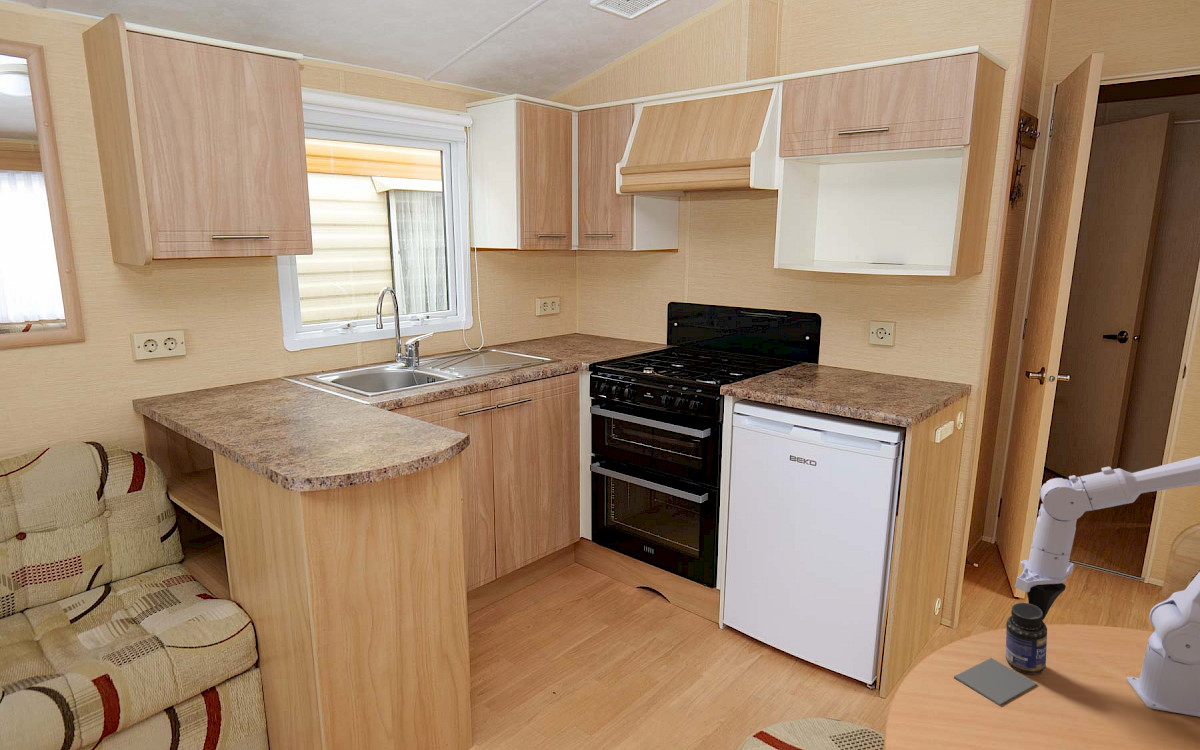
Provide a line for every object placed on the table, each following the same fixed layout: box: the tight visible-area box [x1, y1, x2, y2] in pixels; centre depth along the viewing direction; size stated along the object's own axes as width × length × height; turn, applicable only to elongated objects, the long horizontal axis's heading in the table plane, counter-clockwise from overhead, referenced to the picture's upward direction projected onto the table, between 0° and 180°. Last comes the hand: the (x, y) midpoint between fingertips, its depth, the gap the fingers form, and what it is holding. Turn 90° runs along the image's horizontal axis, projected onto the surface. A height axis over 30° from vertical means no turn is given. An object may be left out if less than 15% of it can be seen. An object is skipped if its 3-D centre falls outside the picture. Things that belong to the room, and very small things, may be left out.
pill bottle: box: [1005, 602, 1048, 675], centre depth 123 cm, size 6×6×11 cm
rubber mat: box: [953, 657, 1038, 707], centre depth 120 cm, size 11×8×1 cm
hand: (1036, 617), depth 123 cm, fingers closed, pressing on pill bottle
